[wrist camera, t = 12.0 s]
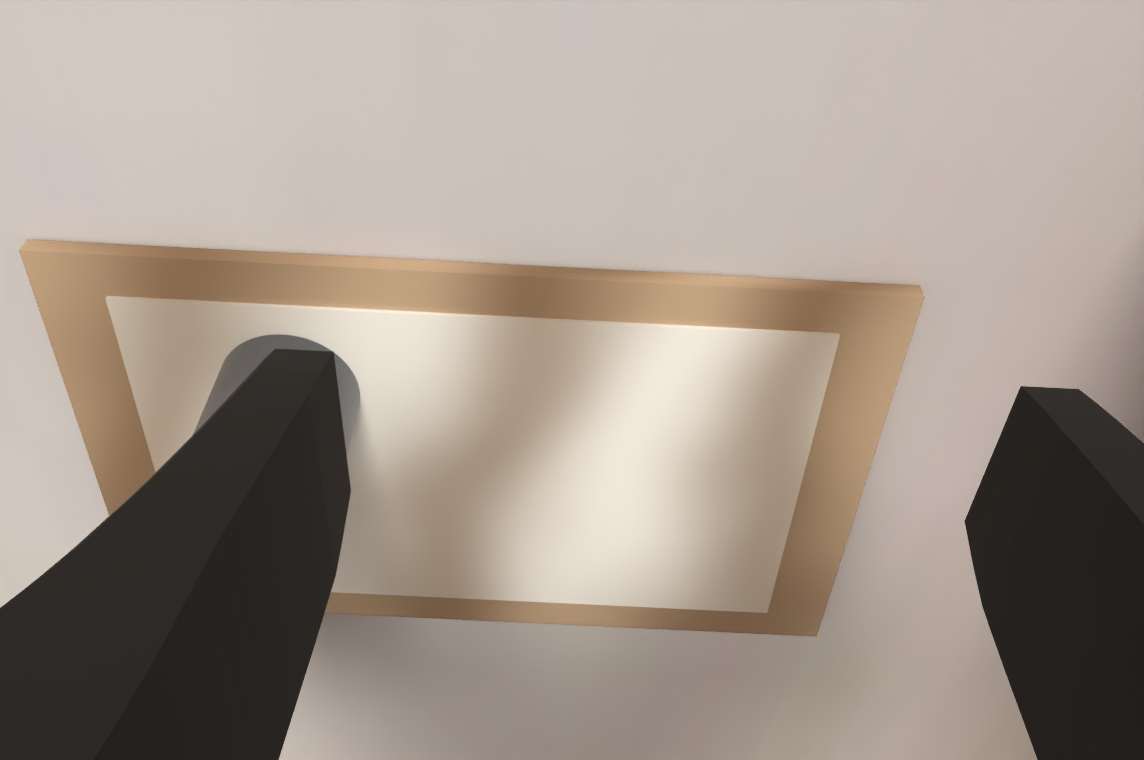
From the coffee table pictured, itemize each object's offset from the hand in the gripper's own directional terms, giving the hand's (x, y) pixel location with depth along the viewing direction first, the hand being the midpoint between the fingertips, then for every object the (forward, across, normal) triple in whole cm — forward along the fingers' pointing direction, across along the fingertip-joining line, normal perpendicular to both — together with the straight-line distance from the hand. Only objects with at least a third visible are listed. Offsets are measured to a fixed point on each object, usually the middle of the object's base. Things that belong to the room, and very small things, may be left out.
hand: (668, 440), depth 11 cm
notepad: (+9, +3, +10) cm, 14 cm away
